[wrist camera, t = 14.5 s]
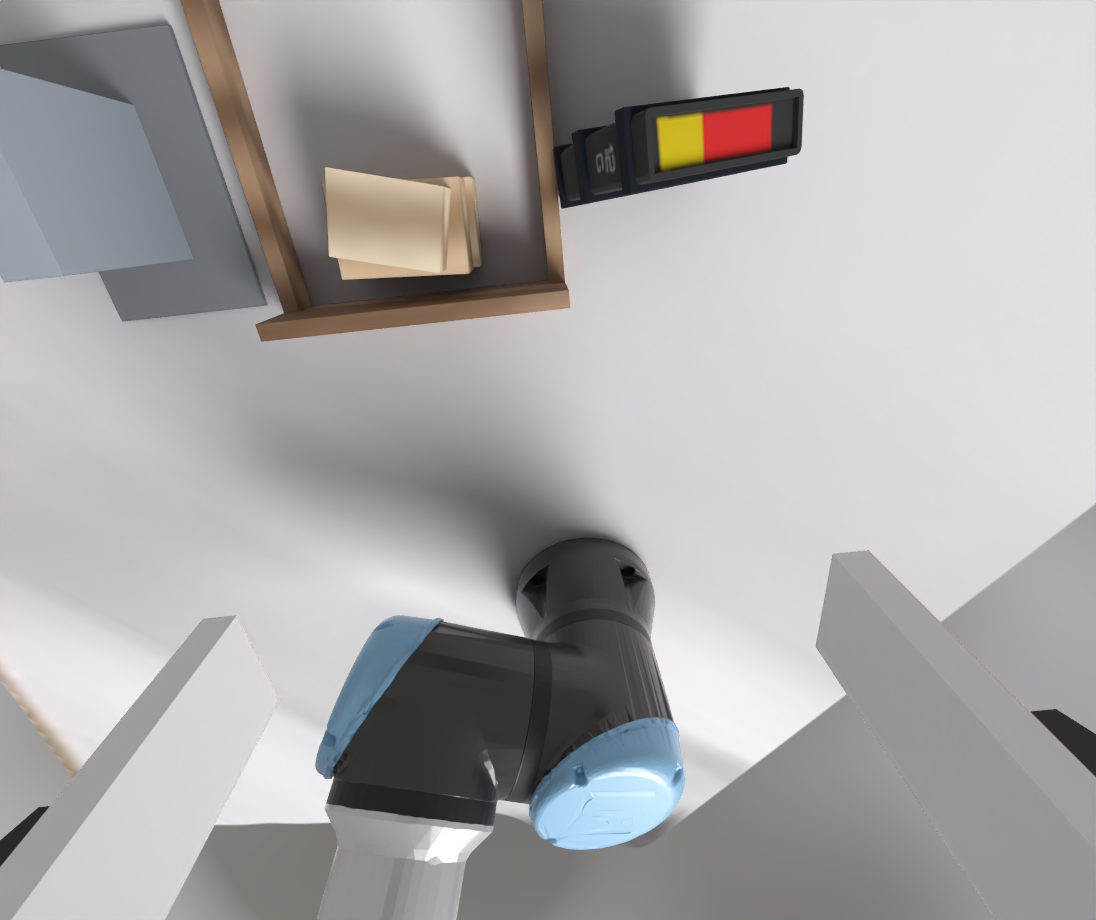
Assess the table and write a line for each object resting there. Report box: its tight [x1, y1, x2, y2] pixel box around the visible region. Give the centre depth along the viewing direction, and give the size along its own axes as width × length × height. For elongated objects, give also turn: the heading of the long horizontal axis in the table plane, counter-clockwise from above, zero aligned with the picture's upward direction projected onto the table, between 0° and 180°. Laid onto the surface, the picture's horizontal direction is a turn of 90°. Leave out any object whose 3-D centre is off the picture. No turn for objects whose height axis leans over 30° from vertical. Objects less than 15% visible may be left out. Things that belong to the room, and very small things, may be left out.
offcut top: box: [325, 167, 451, 273], centre depth 32 cm, size 5×7×3 cm
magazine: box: [553, 87, 804, 209], centre depth 32 cm, size 4×13×15 cm, turn 100°
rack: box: [181, 0, 570, 341], centre depth 32 cm, size 26×22×7 cm
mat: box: [0, 25, 267, 321], centre depth 37 cm, size 18×12×1 cm, turn 6°
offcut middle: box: [321, 177, 473, 280], centre depth 35 cm, size 6×9×3 cm, turn 92°
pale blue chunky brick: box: [0, 69, 194, 282], centre depth 31 cm, size 10×4×12 cm, turn 5°
